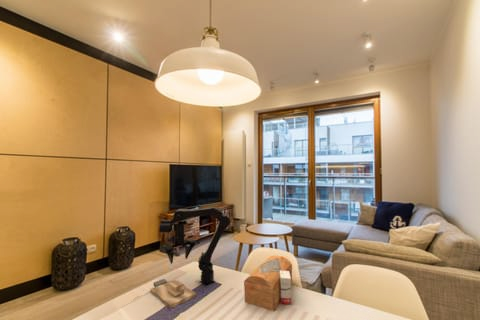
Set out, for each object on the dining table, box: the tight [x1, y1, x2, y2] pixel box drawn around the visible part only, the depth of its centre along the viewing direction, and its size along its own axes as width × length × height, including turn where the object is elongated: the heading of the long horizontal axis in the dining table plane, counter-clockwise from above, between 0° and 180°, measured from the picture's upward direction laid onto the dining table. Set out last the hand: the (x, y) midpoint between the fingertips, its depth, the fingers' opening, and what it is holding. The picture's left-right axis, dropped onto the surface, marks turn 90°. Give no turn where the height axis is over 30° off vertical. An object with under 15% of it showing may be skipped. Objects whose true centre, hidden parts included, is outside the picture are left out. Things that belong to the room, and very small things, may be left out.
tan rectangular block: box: [167, 278, 185, 298], centre depth 115 cm, size 5×7×5 cm
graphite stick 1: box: [153, 278, 166, 288], centre depth 127 cm, size 6×2×2 cm
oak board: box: [150, 281, 197, 309], centre depth 117 cm, size 14×20×2 cm
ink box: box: [280, 270, 292, 305], centre depth 112 cm, size 9×5×12 cm, turn 174°
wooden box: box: [243, 255, 293, 312], centre depth 119 cm, size 30×16×14 cm, turn 151°
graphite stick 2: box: [155, 279, 168, 287], centre depth 125 cm, size 6×2×2 cm
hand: (179, 261), depth 128 cm, fingers open, 9 cm apart
